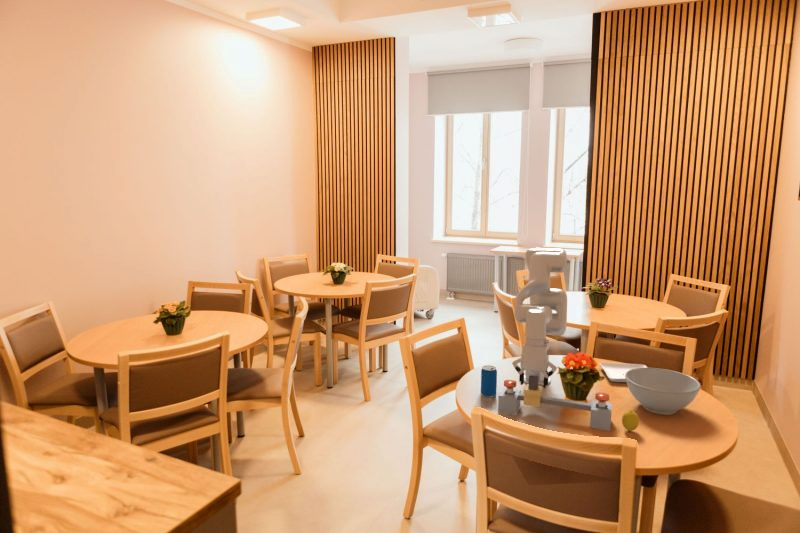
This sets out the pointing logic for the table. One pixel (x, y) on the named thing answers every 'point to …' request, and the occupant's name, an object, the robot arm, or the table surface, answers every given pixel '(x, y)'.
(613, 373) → the salad plate
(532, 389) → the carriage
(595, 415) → the slide rail
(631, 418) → the lemon
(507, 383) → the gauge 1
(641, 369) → the decorative bowl
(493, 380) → the beverage can
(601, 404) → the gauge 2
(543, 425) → the table surface
